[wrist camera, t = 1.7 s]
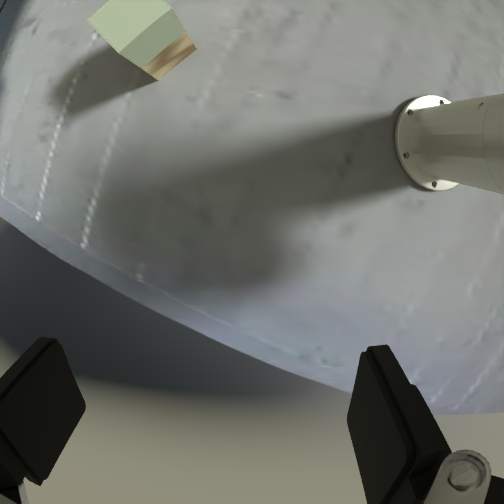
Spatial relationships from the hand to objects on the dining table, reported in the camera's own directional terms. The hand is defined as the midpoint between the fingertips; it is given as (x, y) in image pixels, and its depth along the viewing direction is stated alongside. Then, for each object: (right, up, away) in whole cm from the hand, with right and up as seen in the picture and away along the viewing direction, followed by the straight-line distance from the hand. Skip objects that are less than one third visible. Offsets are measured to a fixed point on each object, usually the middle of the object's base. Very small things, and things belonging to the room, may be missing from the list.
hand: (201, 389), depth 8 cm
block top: (-9, +27, +17) cm, 33 cm away
